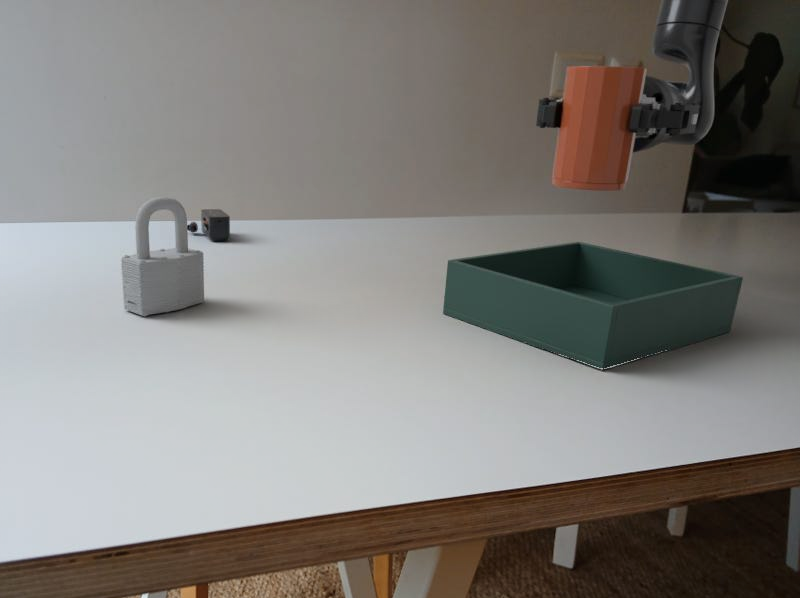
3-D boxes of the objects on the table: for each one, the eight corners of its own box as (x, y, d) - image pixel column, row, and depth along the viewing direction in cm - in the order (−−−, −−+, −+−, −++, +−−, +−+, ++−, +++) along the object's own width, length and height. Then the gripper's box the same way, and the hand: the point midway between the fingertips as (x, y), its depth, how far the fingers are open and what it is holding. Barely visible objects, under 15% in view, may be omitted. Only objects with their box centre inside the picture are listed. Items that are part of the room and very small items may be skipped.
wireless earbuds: (219, 231, 103) (219, 208, 102) (230, 241, 97) (230, 216, 96) (186, 232, 102) (185, 208, 101) (195, 242, 96) (195, 217, 95)
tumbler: (580, 180, 71) (597, 68, 68) (640, 188, 66) (661, 69, 63) (536, 183, 68) (552, 65, 64) (596, 192, 63) (616, 66, 59)
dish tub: (571, 288, 80) (578, 241, 78) (730, 331, 67) (743, 276, 65) (442, 313, 69) (447, 260, 67) (602, 371, 56) (613, 306, 54)
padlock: (182, 295, 72) (179, 191, 68) (209, 304, 69) (207, 196, 66) (119, 309, 67) (112, 197, 63) (146, 319, 64) (140, 203, 61)
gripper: (570, 73, 79) (516, 68, 65) (720, 76, 71) (692, 71, 58) (560, 146, 81) (505, 155, 68) (703, 157, 74) (673, 169, 61)
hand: (592, 116), depth 63 cm, fingers closed on tumbler, 6 cm apart
